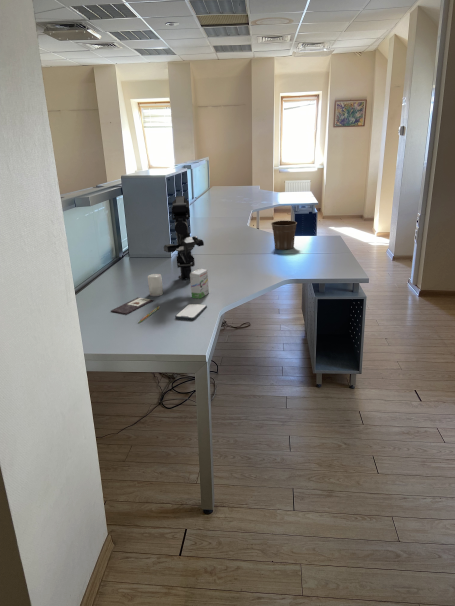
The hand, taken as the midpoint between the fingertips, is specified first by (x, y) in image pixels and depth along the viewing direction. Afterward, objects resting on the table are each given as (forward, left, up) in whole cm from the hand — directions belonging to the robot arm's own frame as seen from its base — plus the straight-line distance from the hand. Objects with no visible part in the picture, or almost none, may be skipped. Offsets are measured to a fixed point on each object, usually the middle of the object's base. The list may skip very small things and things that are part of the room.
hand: (186, 262), depth 215 cm
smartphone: (+31, -13, -13) cm, 36 cm away
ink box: (+14, 0, -13) cm, 19 cm away
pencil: (+23, -29, -13) cm, 39 cm away
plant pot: (-34, +85, -13) cm, 92 cm away
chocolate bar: (+8, -31, -13) cm, 35 cm away
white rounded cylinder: (-1, -16, -13) cm, 21 cm away
